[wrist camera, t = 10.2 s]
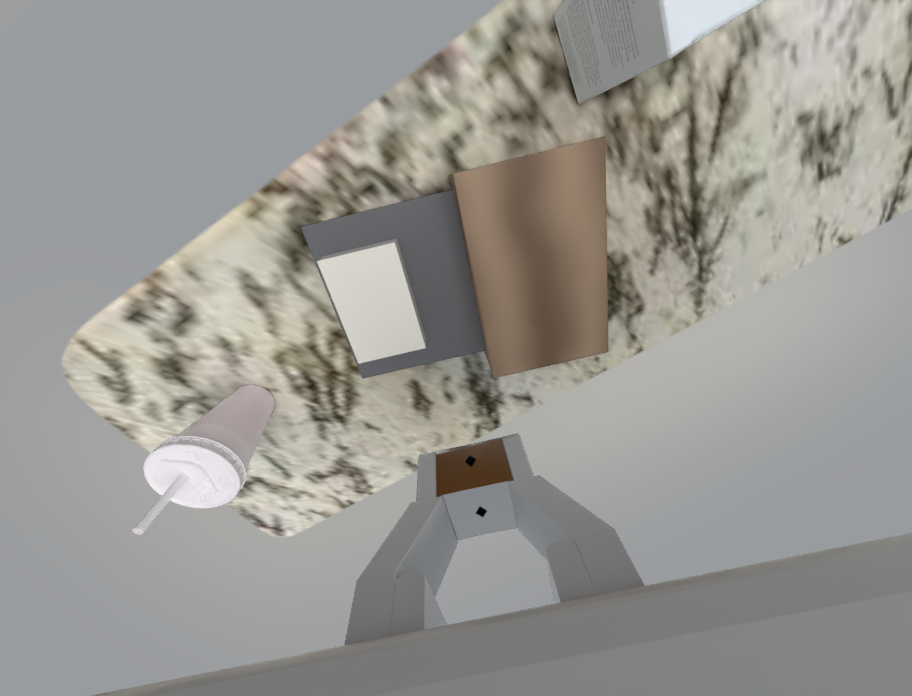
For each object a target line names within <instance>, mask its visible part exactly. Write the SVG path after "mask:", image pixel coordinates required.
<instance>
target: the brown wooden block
mask: <svg viewBox="0 0 912 696" xmlns="http://www.w3.org/2000/svg"><path fill="white" fill-rule="evenodd" d="M450 179H451V184H452V189H453V192H454V197H455V202H456V207H457V212H458V217H459V222H460V227H461V232H462V236H463V241H464V246H465V251H466V256H467V261H468V266H469V271H470V276H471V281H472V286H473V291H474V296H475V300H476V305H477V310H478V315H479V320H480V325H481V330H482V335H483V340H484V345H485V351H486V356H487V359H488V362H489V365H490V368H491V371H492V374H493V377H494V378H497V377H501V376H506V375H510V374H514V373H519V372H523V371H527V370H532V369H536V368H541V367H545V366H549V365H554V364H558V363H563V362H567V361H571V360H576V359H580V358H584V357H589V356H593V355H598V354H602V353H606V352H608V293H607V226H606V159H605V136H604V137H600V138H596V139H592V140H588V141H584V142H580V143H575V144H571V145H567V146H563V147H559V148H555V149H551V150H547V151H543V152H539V153H535V154H531V155H527V156H523V157H519V158H515V159H511V160H507V161H503V162H499V163H495V164H491V165H487V166H483V167H479V168H475V169H471V170H467V171H463V172H458V173H454V174H452V175H450Z"/></svg>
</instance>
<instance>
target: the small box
mask: <svg viewBox="0 0 912 696" xmlns="http://www.w3.org/2000/svg"><path fill="white" fill-rule="evenodd" d="M764 1H766V0H564V1H563V2H562V3H561V5H560V6H559V7H558V9H557V10H556V11H555V13H554V20H555V23H556V27H557V30H558V34H559V37H560V41H561V45H562V48H563V52H564V55H565V59H566V63H567V66H568V70H569V73H570V77H571V80H572V84H573V87H574V91H575V94H576V97H577V101H578V103H579V104H581V103H583V102H585V101H587V100H589V99H591V98H593V97H595V96H597V95H599V94H601V93H603V92H605V91H607V90H609V89H611V88H613V87H615V86H617V85H619V84H621V83H623V82H625V81H627V80H629V79H631V78H633V77H635V76H637V75H639V74H641V73H643V72H645V71H647V70H649V69H651V68H653V67H655V66H656V65H658V64H660V63H662V62H664V61H666V60H668V59H670V58H672V57H674V56H675V55H677V54H678V53H680V52H681V51H683V50H684V49H686V48H687V47H689V46H690V45H692V44H693V43H695V42H697V41H698V40H700V39H702V38H703V37H705V36H706V35H708V34H710V33H712V32H713V31H715V30H717V29H718V28H720V27H722V26H724V25H725V24H727V23H729V22H730V21H732V20H734V19H735V18H737V17H739V16H741V15H742V14H744V13H746V12H747V11H749V10H751V9H752V8H754V7H756V6H758V5H759V4H761V3H763V2H764Z"/></svg>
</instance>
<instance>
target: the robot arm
mask: <svg viewBox="0 0 912 696" xmlns="http://www.w3.org/2000/svg"><path fill="white" fill-rule="evenodd" d="M515 528H518V530H519V531H520V532H521V533H522V534H523V535H524V537H525V538H526V539H527V540H528V541H529V542H530V543H531V544H532V545H533V546H534V547H535V548H536V549H537V550H538V552H539V553H540V554H541V555H542V556H543V557H544V558H545V559H546V560H547V563H548V569H549V576H550V581H551V588H552V595H553V600H554V604H550V605H545V606H540V607H535V608H530V609H525V610H520V611H515V612H510V613H505V614H500V615H495V616H490V617H485V618H480V619H475V620H470V621H465V622H460V623H455V624H450V625H447V623H446V621H445V619H444V617H443V614H442V612H441V610H440V608H439V606H438V604H437V601H436V599H435V596H436V594H437V592H438V589H439V587H440V585H441V582H442V580H443V577H444V575H445V573H446V570H447V568H448V565H449V563H450V561H451V558H452V555H453V553H454V551H455V549H456V546H457V544H458V540H462V539H466V538H470V537H474V536H478V535H483V534H487V533H492V532H498V531H504V530H509V529H515ZM91 696H912V533H909V534H904V535H898V536H893V537H888V538H883V539H878V540H873V541H868V542H863V543H858V544H853V545H848V546H843V547H838V548H833V549H828V550H823V551H818V552H813V553H808V554H802V555H797V556H792V557H787V558H782V559H777V560H773V561H767V562H762V563H757V564H752V565H747V566H742V567H737V568H732V569H727V570H722V571H717V572H712V573H707V574H702V575H697V576H692V577H687V578H682V579H676V580H671V581H666V582H662V583H657V584H651V585H646V586H645V585H644V584H643V582H642V580H641V578H640V576H639V574H638V572H637V570H636V568H635V567H634V565H633V563H632V561H631V559H630V557H629V555H628V554H627V551H626V550H625V548H624V546H623V544H622V542H621V540H620V538H619V536H618V535H617V533H616V531H615V529H614V528H612V527H611V526H610V525H608V524H607V523H605V522H604V521H603V520H601V519H600V518H598V517H597V516H596V515H594V514H593V513H591V512H590V511H589V510H587V509H586V508H584V507H583V506H582V505H580V504H579V503H577V502H576V501H574V500H573V499H572V498H570V497H569V496H568V495H566V494H565V493H563V492H562V491H560V490H559V489H558V488H556V487H555V486H554V485H552V484H551V483H549V482H548V481H547V480H545V479H544V478H542V477H541V476H534V475H533V472H532V469H531V466H530V463H529V461H528V458H527V455H526V452H525V449H524V446H523V443H522V441H521V438H520V435H519V434H513V435H508V436H504V437H502V438H496V439H492V440H488V441H483V442H479V443H475V444H470V445H466V446H461V447H455V448H450V449H445V450H440V451H436V452H432V453H426V454H421V455H420V456H419V458H418V474H417V495H416V502H412V503H411V504H410V505H409V506H408V508H407V509H406V511H405V512H404V514H403V515H402V517H401V518H400V519H399V521H398V522H397V524H396V525H395V527H394V528H393V530H392V531H391V532H390V534H389V535H388V537H387V538H386V540H385V541H384V542H383V544H382V545H381V547H380V548H379V550H378V551H377V553H376V554H375V556H374V557H373V558H372V560H371V561H370V563H369V564H368V566H367V567H366V569H365V570H364V572H363V573H362V574H361V576H360V577H359V579H358V580H357V582H356V587H355V592H354V598H353V603H352V608H351V613H350V619H349V624H348V629H347V634H346V640H345V645H344V646H339V647H334V648H329V649H324V650H319V651H314V652H309V653H304V654H299V655H294V656H289V657H284V658H279V659H274V660H269V661H263V662H258V663H253V664H249V665H243V666H238V667H233V668H228V669H223V670H218V671H213V672H208V673H203V674H198V675H193V676H188V677H183V678H177V679H172V680H167V681H162V682H157V683H152V684H147V685H142V686H137V687H132V688H127V689H122V690H117V691H112V692H106V693H101V694H96V695H91Z"/></svg>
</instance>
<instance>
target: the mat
mask: <svg viewBox="0 0 912 696" xmlns="http://www.w3.org/2000/svg"><path fill="white" fill-rule="evenodd" d="M301 229H302V231H303V234H304V236H305V239H306V241H307V244H308V246H309V249H310V251H311V253H312V256H313V258H314V261H315V263H316V266H317V268H318V271H319V273H320V275H321V278H322V280H323V283H324V285H325V288H326V290H327V293H328V295H329V297H330V300H331V302H332V305H333V307H334V310H335V312H336V315H337V317H338V319H339V322H340V324H341V327H342V329H343V332H344V334H345V337H346V339H347V341H348V344H349V346H350V349H351V351H352V354H353V356H354V359H355V361H356V363H357V366H358V368H359V371H360V373H361V376H362V378H367V377H371V376H376V375H380V374H384V373H389V372H393V371H397V370H402V369H406V368H410V367H415V366H419V365H423V364H428V363H432V362H436V361H441V360H445V359H449V358H453V357H458V356H462V355H466V354H471V353H475V352H479V351H484V350H485V345H484V340H483V335H482V330H481V325H480V320H479V315H478V310H477V305H476V300H475V296H474V291H473V286H472V281H471V276H470V271H469V266H468V261H467V256H466V251H465V246H464V241H463V236H462V232H461V227H460V222H459V217H458V212H457V207H456V202H455V197H454V192H453V190H449V191H445V192H441V193H437V194H433V195H428V196H424V197H420V198H416V199H412V200H408V201H404V202H400V203H396V204H392V205H388V206H384V207H380V208H376V209H372V210H368V211H364V212H359V213H355V214H351V215H347V216H343V217H339V218H335V219H331V220H327V221H323V222H319V223H315V224H311V225H307V226H303V227H301ZM392 239H397V240H398V243H399V247H400V250H401V254H402V257H403V261H404V264H405V268H406V271H407V275H408V278H409V281H410V285H411V288H412V292H413V295H414V299H415V302H416V306H417V309H418V313H419V316H420V319H421V323H422V326H423V330H424V333H425V337H426V348H424V349H420V350H415V351H411V352H407V353H403V354H398V355H394V356H390V357H385V358H381V359H377V360H373V361H368V362H364V363H360V364H358V361H357V359H356V356H355V354H354V351H353V349H352V347H351V344H350V342H349V339H348V337H347V334H346V332H345V329H344V327H343V324H342V322H341V319H340V317H339V315H338V312H337V310H336V307H335V305H334V302H333V300H332V297H331V295H330V292H329V290H328V288H327V285H326V283H325V280H324V278H323V275H322V273H321V270H320V268H319V265H318V263H317V261H318V260H319V259H321V258H322V257H324V256H327V255H331V254H335V253H339V252H343V251H347V250H351V249H356V248H360V247H364V246H368V245H372V244H376V243H380V242H384V241H388V240H392Z"/></svg>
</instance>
